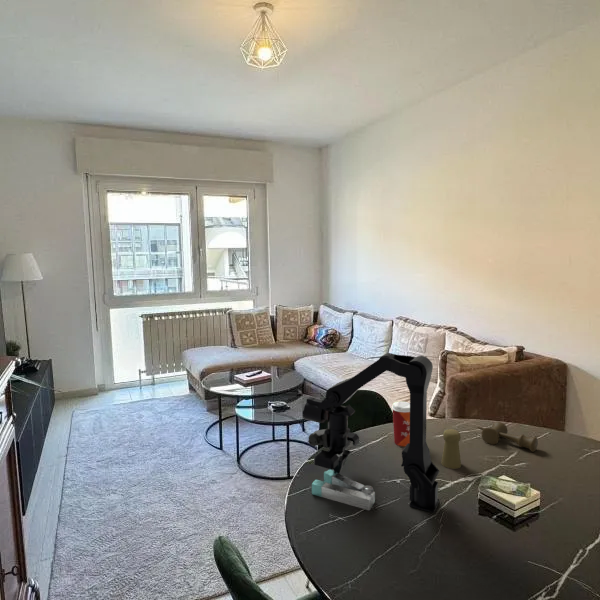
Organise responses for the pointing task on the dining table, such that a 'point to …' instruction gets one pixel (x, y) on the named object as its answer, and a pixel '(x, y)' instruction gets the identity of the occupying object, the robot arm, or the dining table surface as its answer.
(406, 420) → the paper cup
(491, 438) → the kendama
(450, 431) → the cork
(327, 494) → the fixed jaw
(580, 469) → the dining table surface
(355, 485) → the moving jaw
